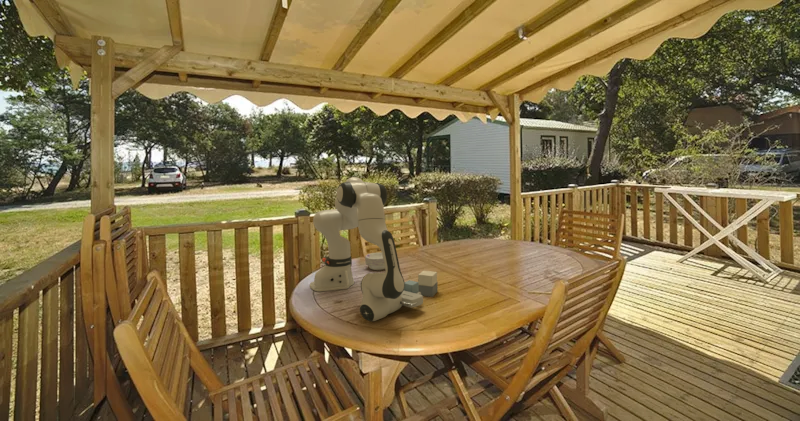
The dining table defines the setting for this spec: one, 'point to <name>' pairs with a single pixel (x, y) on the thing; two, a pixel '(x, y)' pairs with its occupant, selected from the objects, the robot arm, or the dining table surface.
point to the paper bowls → (375, 261)
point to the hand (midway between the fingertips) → (410, 291)
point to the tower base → (428, 290)
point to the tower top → (427, 278)
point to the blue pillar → (411, 286)
